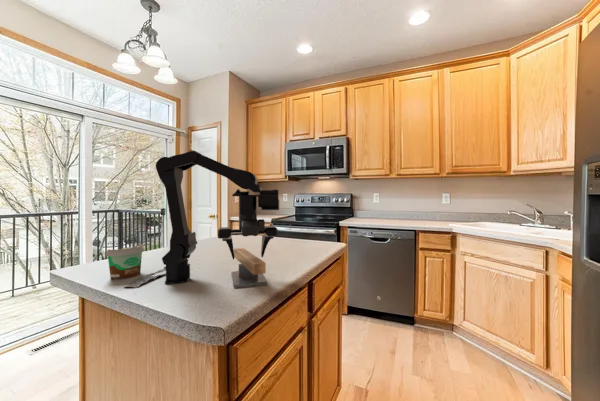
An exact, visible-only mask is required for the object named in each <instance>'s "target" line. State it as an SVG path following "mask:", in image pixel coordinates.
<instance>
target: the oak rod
mask: <svg viewBox="0 0 600 401" xmlns="http://www.w3.org/2000/svg"><path fill="white" fill-rule="evenodd" d="M233 249H234V259H236V261H238V263H239V264H242V265H244V266H245V267H246V268H247V269H248V270H249V271H250V272H251V273H252V274H253V275H256V274H263V275H264V274H266V272H267V271H266V261H263V260H262V259H261V258H259V257H258V256H257V255H255V254H253V253H252V252H251V251H249V250H247V249H246V248H244V247H241V248H233Z"/></svg>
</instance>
